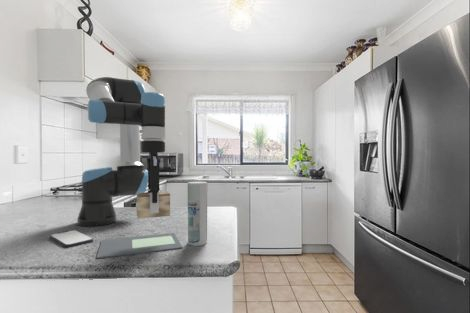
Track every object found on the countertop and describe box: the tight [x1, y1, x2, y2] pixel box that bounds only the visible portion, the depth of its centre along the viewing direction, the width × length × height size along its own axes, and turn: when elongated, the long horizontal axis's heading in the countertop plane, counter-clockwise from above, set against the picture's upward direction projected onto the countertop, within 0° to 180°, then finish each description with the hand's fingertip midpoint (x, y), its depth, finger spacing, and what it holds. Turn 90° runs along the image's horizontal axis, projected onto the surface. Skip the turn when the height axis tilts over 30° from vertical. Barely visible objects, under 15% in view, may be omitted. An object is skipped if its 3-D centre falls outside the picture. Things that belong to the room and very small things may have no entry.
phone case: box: [49, 229, 94, 249], centre depth 94 cm, size 9×2×16 cm
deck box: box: [136, 191, 171, 219], centre depth 90 cm, size 10×6×7 cm, turn 111°
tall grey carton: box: [187, 180, 208, 247], centre depth 91 cm, size 6×6×20 cm
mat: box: [96, 232, 183, 260], centre depth 89 cm, size 17×24×1 cm
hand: (153, 210), depth 90 cm, fingers closed on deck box, 6 cm apart
